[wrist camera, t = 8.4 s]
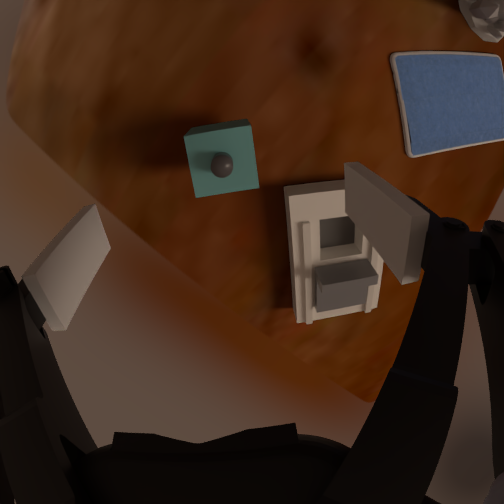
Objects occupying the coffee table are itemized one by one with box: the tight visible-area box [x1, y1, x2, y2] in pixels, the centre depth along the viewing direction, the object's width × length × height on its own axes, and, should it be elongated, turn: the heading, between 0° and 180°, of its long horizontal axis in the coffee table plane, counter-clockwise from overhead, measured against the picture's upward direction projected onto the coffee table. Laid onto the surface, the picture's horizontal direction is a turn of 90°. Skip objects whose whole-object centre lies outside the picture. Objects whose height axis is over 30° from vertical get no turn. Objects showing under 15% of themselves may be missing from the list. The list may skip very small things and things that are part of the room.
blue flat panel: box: [390, 51, 504, 158], centre depth 27 cm, size 19×13×1 cm, turn 106°
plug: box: [184, 119, 259, 198], centre depth 25 cm, size 5×5×10 cm
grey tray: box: [284, 179, 383, 324], centre depth 35 cm, size 17×11×4 cm, turn 7°
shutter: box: [315, 259, 379, 313], centre depth 34 cm, size 6×6×3 cm
